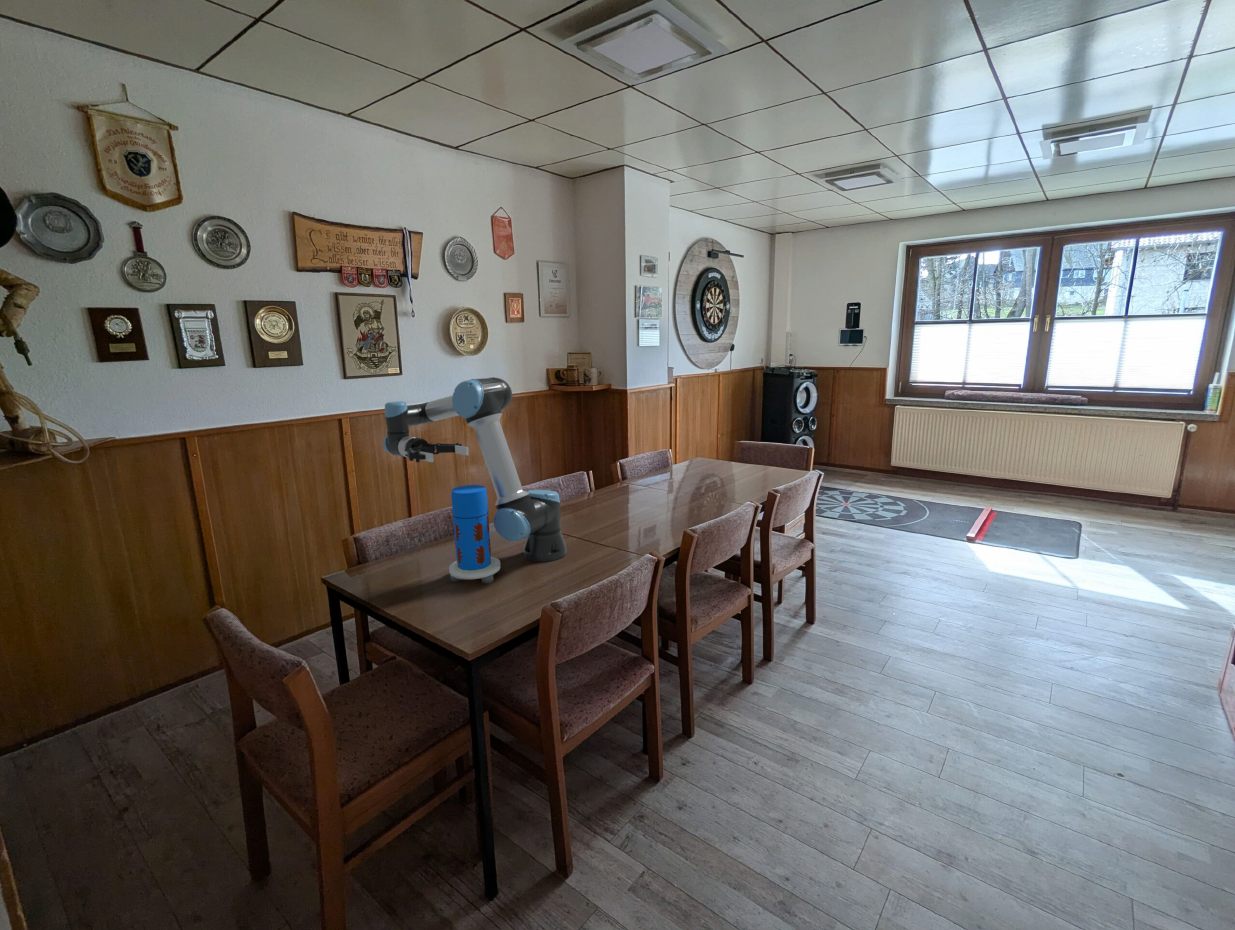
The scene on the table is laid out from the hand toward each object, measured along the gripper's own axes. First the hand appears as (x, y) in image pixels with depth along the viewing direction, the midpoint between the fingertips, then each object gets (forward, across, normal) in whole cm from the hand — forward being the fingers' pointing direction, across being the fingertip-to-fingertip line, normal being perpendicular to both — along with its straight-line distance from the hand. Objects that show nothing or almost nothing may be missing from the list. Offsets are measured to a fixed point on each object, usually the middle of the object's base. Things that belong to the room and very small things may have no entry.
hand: (450, 454), depth 188 cm
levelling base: (+14, +4, -38) cm, 41 cm away
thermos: (+14, +4, -34) cm, 37 cm away
